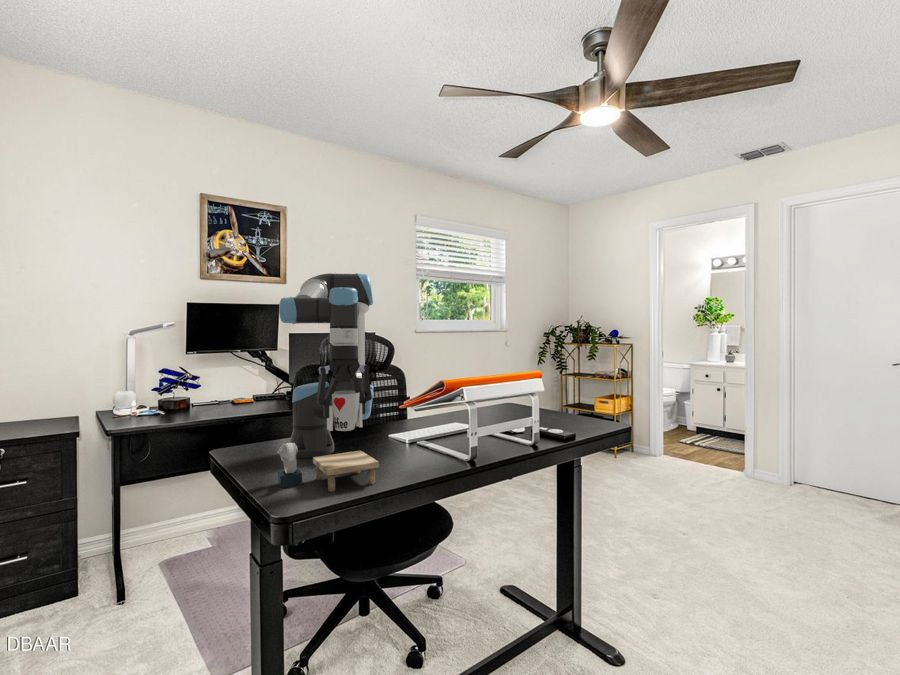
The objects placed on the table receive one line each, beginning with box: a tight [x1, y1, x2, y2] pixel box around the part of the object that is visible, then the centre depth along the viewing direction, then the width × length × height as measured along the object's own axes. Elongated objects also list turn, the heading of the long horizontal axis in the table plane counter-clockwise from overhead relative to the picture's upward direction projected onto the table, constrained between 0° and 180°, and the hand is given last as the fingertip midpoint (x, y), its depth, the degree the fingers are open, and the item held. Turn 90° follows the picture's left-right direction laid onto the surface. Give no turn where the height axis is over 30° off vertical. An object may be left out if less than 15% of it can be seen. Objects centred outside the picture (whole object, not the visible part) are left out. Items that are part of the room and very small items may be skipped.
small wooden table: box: [312, 450, 380, 493], centre depth 131 cm, size 14×14×6 cm
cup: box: [330, 391, 360, 432], centre depth 131 cm, size 8×8×10 cm
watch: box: [277, 442, 303, 489], centre depth 129 cm, size 6×8×11 cm
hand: (344, 428), depth 131 cm, fingers closed on cup, 8 cm apart
